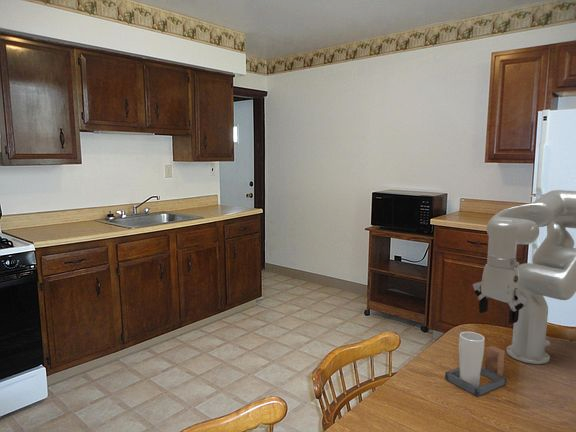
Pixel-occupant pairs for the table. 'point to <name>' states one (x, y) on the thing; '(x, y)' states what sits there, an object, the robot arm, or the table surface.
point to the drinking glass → (471, 356)
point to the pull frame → (483, 373)
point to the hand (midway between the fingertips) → (497, 317)
